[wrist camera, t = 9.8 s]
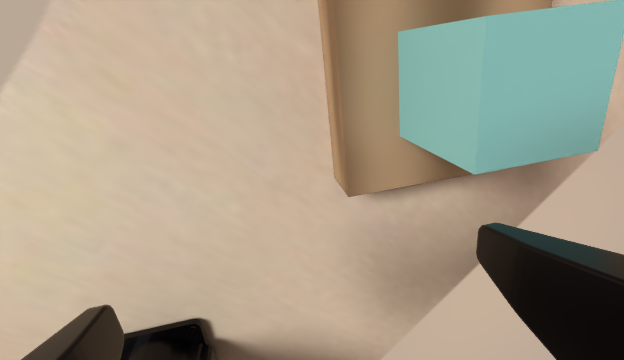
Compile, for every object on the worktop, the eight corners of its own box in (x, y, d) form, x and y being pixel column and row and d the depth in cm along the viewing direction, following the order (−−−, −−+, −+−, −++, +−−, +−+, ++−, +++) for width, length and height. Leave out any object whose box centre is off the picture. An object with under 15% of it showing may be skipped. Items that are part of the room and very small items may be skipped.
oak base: (334, 178, 20) (348, 197, 17) (315, -25, 16) (330, -42, 13) (492, 150, 22) (528, 163, 19) (512, -43, 18) (561, -61, 15)
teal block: (399, 136, 17) (474, 174, 11) (398, 31, 15) (486, 15, 9) (486, 121, 17) (597, 151, 12) (495, 19, 16) (631, -3, 10)
